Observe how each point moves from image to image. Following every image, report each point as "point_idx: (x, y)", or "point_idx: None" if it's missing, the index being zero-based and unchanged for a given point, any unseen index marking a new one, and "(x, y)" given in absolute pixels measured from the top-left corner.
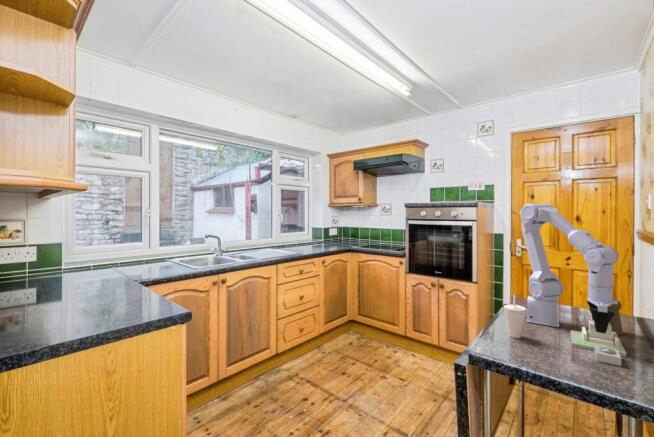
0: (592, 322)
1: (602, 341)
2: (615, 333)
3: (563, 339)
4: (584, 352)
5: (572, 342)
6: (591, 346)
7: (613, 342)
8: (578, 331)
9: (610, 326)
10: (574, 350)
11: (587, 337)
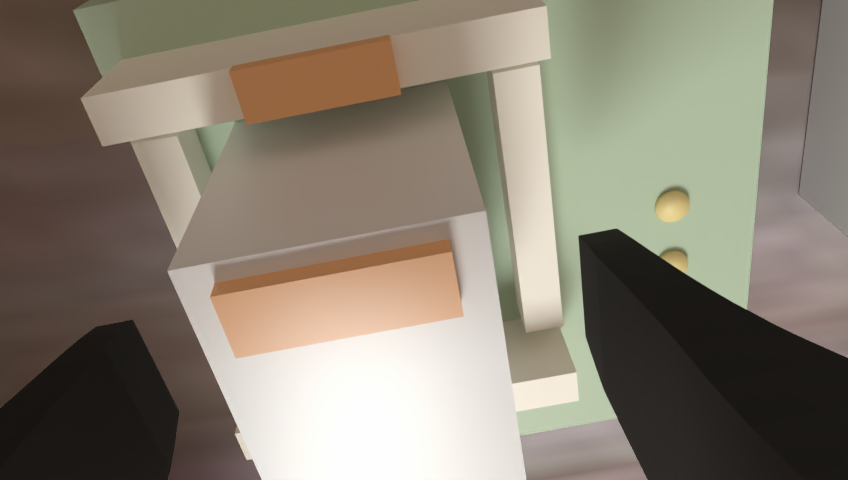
0: (400, 470)
1: (544, 185)
2: (171, 88)
3: (557, 449)
4: (845, 264)
5: None
6: (741, 250)
7: (538, 66)
8: None
9: (433, 234)
10: (834, 335)
11: None
